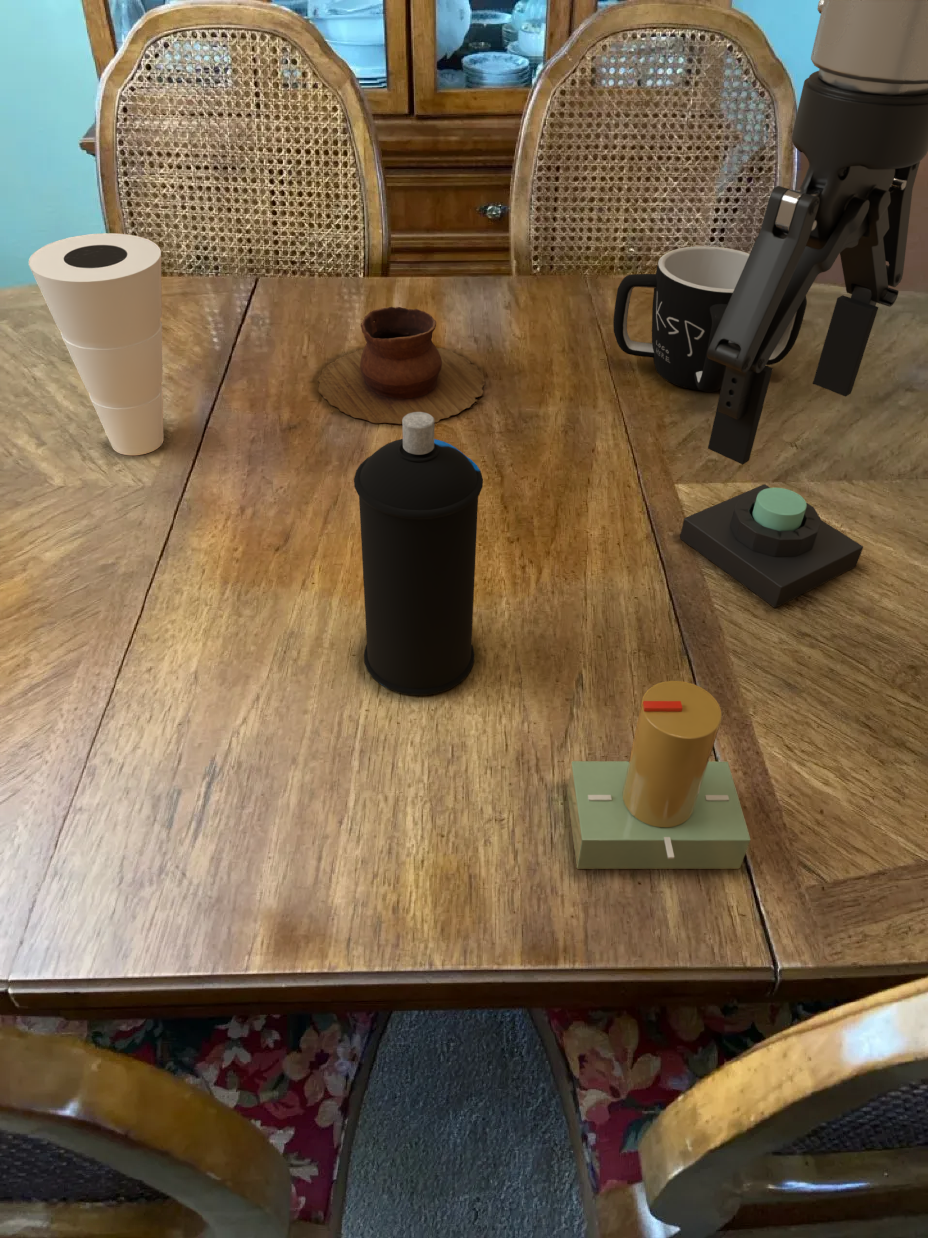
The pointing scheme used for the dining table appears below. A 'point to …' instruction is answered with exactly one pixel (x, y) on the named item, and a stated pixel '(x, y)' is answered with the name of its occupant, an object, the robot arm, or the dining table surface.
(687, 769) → the dial
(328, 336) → the dining table surface
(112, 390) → the cream tapered cylinder
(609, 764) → the dial panel
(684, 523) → the button base
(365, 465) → the aerosol can
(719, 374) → the mug
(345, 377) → the ceramic pot
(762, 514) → the round green button
